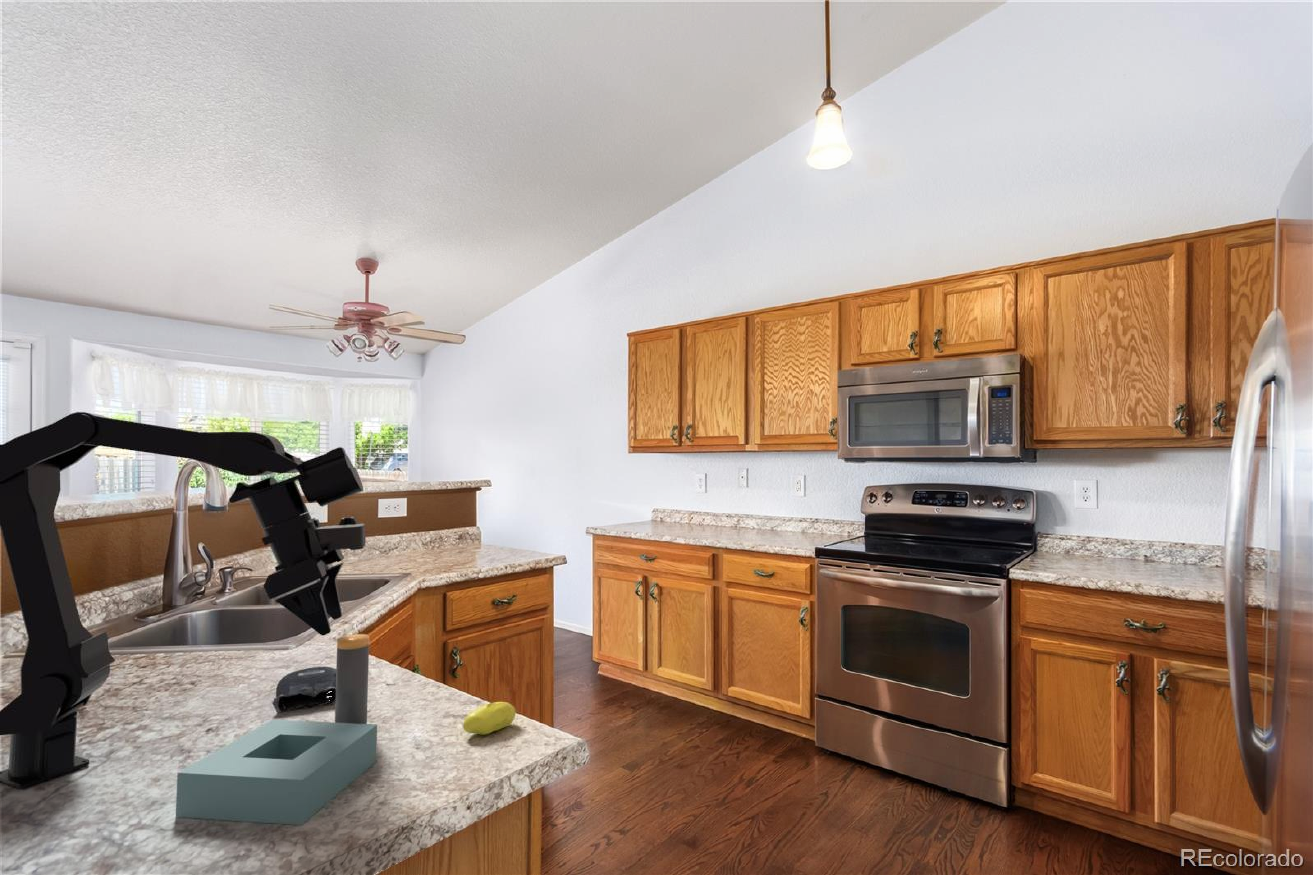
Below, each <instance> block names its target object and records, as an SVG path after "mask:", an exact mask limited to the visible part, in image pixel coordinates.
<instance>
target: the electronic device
mask: <svg viewBox="0 0 1313 875" xmlns="http://www.w3.org/2000/svg"><path fill="white" fill-rule="evenodd" d="M328 691H332V692H330V693H328ZM324 692H327V693H328V694H327V693H326V694H327V695H326V696H332V697H329V698H327V700H330V701H329V702H328V701H327V703H324V704H323V703H320V702H318V701H314V702H313V703H311V704H310V703H309V702H305V703H303V705H301V706H294V707H293V708H291V709H289V711H297V710H304V709H311V708H314V707H319V706H320V705H323V706H328V705H332V704H334V703H335V697H336V668H335V667H330V666H325V665H324V666H314V667H307V668H303V669H298V670H296V671H293V672H290V673H287V674H286V675H284V676H283V677H281V678H280V680H279V682H277V684H276V689H275V697H274V698H273V701H272V702H271V703H272V706H273V707H274V710H275V712H276V713H277V714H279V713H282V712H286V711H288V709H287V708H286V707H285V702H284V699H283V698H284V697H285V698H289V697H292V696H296V695H299V694H301V695H303V696H309V697H316V696H317V695H318V694H320V693H324ZM323 699H324V700H323V701H325V698H323ZM282 700H283V701H282ZM317 702H318V703H317ZM300 704H302V702H301V703H300Z"/></svg>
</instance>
